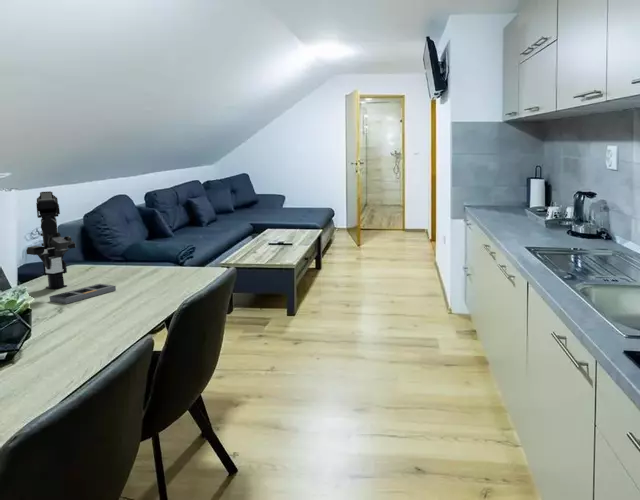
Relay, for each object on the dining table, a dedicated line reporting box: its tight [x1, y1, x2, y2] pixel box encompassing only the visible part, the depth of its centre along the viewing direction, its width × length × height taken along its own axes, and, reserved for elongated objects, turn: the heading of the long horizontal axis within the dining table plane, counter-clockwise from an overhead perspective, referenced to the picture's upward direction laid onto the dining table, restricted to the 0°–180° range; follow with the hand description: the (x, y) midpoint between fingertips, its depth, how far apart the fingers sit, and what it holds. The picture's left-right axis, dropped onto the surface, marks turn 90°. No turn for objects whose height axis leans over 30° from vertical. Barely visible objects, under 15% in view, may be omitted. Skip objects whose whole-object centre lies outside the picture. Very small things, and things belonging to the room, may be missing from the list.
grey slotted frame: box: [49, 283, 117, 305], centre depth 241 cm, size 10×24×2 cm, turn 149°
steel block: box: [45, 256, 63, 274], centre depth 240 cm, size 4×4×6 cm
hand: (53, 268), depth 240 cm, fingers closed on steel block, 4 cm apart
